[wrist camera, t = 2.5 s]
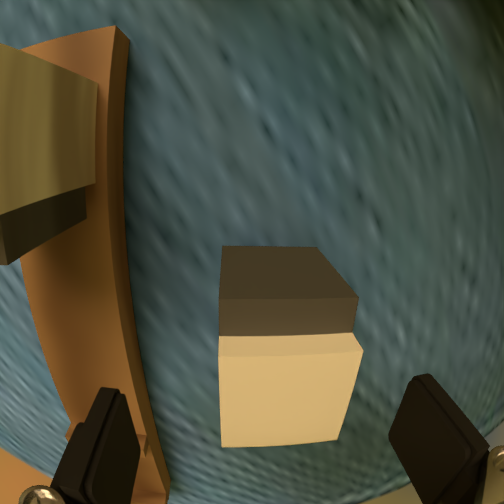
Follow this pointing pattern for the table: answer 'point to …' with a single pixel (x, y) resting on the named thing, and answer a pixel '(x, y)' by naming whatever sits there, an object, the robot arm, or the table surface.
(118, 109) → the rail
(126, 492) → the robot arm
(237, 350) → the cream brown block
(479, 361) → the table surface
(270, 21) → the table surface
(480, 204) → the table surface
